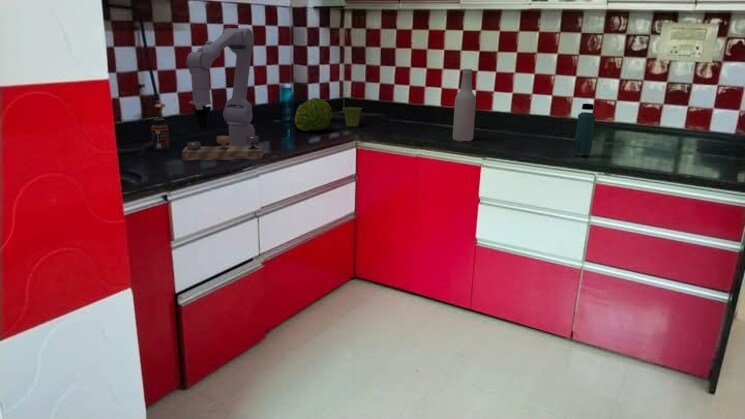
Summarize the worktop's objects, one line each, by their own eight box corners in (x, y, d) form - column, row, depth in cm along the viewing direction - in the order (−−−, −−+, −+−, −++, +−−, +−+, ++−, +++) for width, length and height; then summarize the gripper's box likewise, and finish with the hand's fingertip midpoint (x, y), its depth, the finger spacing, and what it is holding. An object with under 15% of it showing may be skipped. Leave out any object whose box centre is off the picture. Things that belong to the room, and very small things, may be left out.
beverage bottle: (593, 156, 215) (600, 103, 210) (586, 158, 211) (593, 105, 205) (576, 153, 220) (583, 102, 214) (569, 156, 215) (576, 103, 209)
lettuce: (288, 135, 267) (320, 137, 273) (301, 127, 244) (336, 129, 250) (288, 104, 267) (320, 106, 273) (301, 93, 244) (336, 95, 250)
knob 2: (246, 148, 197) (245, 137, 196) (246, 146, 202) (246, 135, 200) (258, 148, 198) (258, 137, 197) (259, 146, 202) (258, 135, 201)
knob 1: (187, 155, 195) (186, 144, 194) (189, 153, 199) (188, 141, 198) (200, 155, 195) (199, 144, 194) (202, 152, 200) (201, 141, 198)
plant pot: (338, 125, 274) (338, 108, 272) (351, 124, 281) (351, 106, 279) (352, 128, 268) (353, 109, 266) (365, 126, 275) (365, 108, 273)
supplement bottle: (162, 151, 206) (159, 120, 203) (149, 150, 208) (146, 119, 205) (173, 148, 211) (170, 118, 208) (160, 147, 214) (158, 117, 210)
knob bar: (182, 160, 193) (182, 151, 192) (186, 155, 201) (185, 146, 200) (262, 159, 197) (262, 150, 196) (263, 154, 206) (262, 146, 205)
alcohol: (449, 140, 242) (454, 68, 233) (456, 137, 250) (460, 68, 241) (469, 142, 238) (474, 69, 229) (475, 139, 246) (480, 69, 237)
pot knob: (216, 149, 196) (216, 137, 195) (217, 146, 200) (217, 135, 199) (229, 149, 196) (229, 137, 195) (230, 146, 201) (229, 135, 199)
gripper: (191, 86, 197) (194, 124, 201) (185, 90, 184) (188, 131, 188) (212, 86, 198) (214, 124, 202) (207, 90, 185) (210, 131, 189)
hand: (203, 128), depth 195 cm, fingers closed
